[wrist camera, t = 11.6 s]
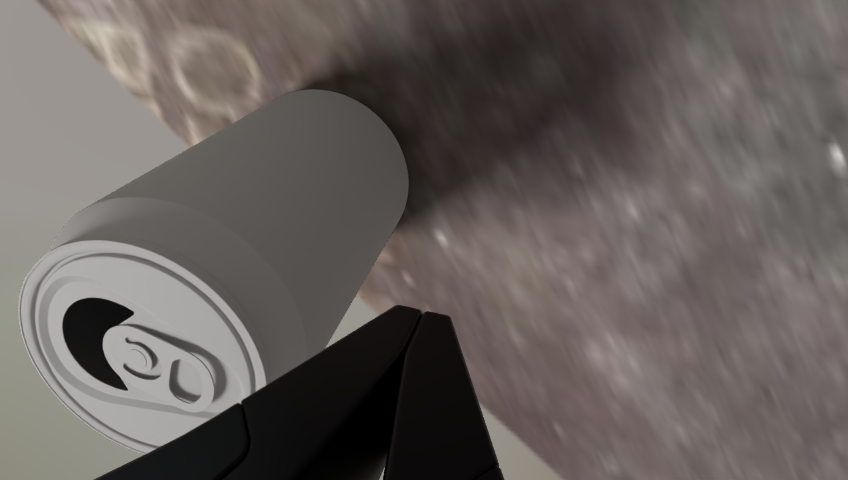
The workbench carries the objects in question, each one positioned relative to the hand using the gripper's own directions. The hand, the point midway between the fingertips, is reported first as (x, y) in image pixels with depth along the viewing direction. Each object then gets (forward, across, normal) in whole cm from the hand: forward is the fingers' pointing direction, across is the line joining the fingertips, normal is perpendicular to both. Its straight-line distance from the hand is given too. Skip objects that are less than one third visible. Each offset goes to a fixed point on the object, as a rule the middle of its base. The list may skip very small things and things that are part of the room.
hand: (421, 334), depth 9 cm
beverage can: (+13, +6, +3) cm, 15 cm away
